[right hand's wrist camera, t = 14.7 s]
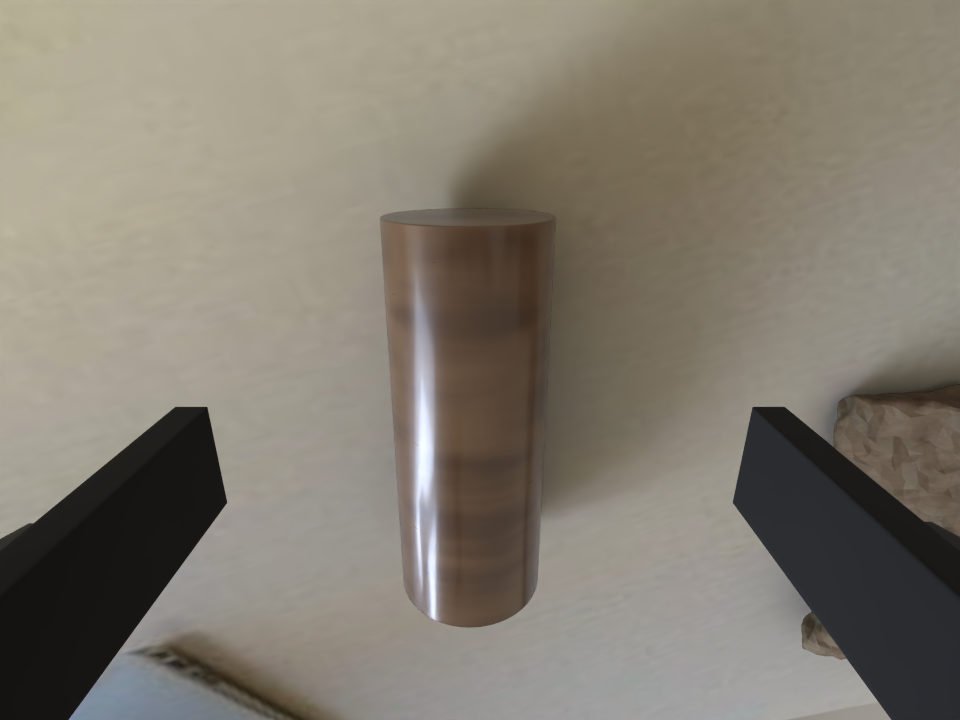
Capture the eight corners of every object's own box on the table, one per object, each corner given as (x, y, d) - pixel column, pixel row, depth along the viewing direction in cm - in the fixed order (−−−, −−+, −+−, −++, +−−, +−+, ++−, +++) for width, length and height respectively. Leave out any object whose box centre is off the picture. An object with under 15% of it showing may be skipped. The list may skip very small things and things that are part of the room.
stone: (1011, 651, 39) (1081, 721, 33) (789, 630, 42) (819, 690, 37) (1056, 375, 35) (1145, 401, 29) (806, 376, 38) (842, 399, 33)
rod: (393, 208, 30) (364, 226, 22) (543, 208, 30) (570, 225, 22) (411, 529, 38) (395, 629, 30) (530, 528, 38) (546, 626, 30)
